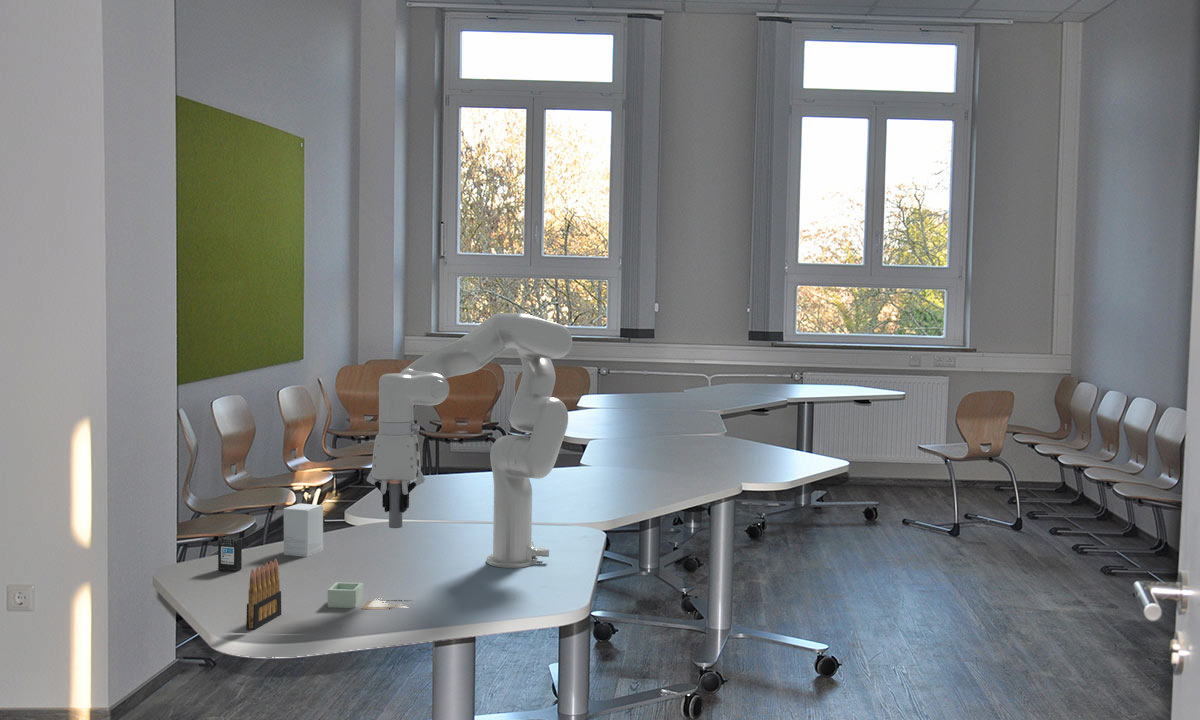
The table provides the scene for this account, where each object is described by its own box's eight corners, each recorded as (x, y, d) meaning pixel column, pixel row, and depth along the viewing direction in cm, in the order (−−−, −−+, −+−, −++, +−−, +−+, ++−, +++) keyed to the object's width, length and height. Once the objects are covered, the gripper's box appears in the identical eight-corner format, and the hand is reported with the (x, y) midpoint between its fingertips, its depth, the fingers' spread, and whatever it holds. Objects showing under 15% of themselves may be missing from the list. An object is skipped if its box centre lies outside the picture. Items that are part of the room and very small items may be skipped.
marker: (404, 525, 230) (404, 472, 229) (400, 528, 227) (400, 475, 226) (390, 525, 230) (390, 472, 229) (386, 528, 227) (386, 474, 226)
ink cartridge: (217, 571, 246) (217, 538, 246) (222, 568, 249) (222, 536, 248) (236, 572, 245) (236, 539, 245) (241, 570, 248) (241, 537, 247)
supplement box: (324, 553, 266) (324, 504, 265) (307, 559, 259) (307, 510, 258) (300, 550, 268) (300, 502, 268) (282, 556, 261) (282, 507, 261)
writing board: (442, 596, 228) (442, 593, 228) (431, 612, 216) (431, 609, 216) (375, 594, 229) (375, 591, 229) (361, 610, 217) (361, 607, 217)
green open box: (363, 601, 224) (363, 583, 224) (355, 609, 218) (355, 590, 218) (335, 600, 224) (335, 582, 224) (327, 608, 218) (327, 589, 218)
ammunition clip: (273, 613, 214) (273, 557, 213) (281, 614, 213) (281, 557, 213) (245, 629, 203) (245, 569, 203) (254, 630, 203) (254, 570, 202)
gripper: (436, 428, 230) (435, 508, 231) (365, 426, 231) (364, 506, 233) (428, 432, 223) (427, 515, 224) (354, 430, 224) (354, 513, 225)
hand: (395, 510), depth 228 cm, fingers closed on marker, 3 cm apart
